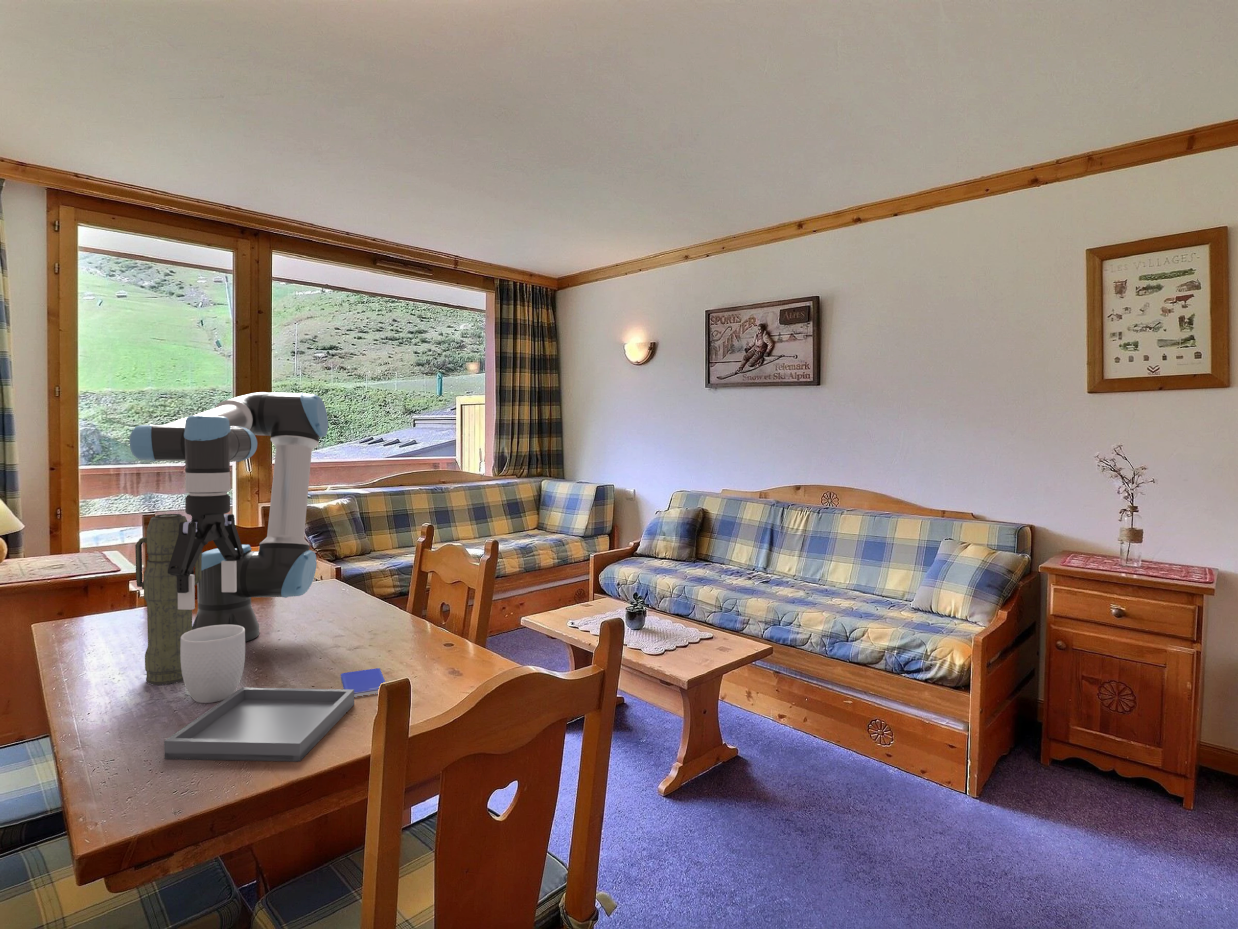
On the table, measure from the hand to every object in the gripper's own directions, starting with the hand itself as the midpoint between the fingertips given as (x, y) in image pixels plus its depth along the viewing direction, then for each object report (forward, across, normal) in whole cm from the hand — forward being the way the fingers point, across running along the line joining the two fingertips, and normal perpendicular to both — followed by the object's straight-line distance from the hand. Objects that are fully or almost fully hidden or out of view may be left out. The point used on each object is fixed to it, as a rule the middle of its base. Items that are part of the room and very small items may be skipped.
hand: (208, 600), depth 130 cm
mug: (+20, 0, 0) cm, 20 cm away
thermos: (+20, -10, -14) cm, 26 cm away
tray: (+20, +14, +19) cm, 30 cm away
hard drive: (+20, -8, +28) cm, 35 cm away
